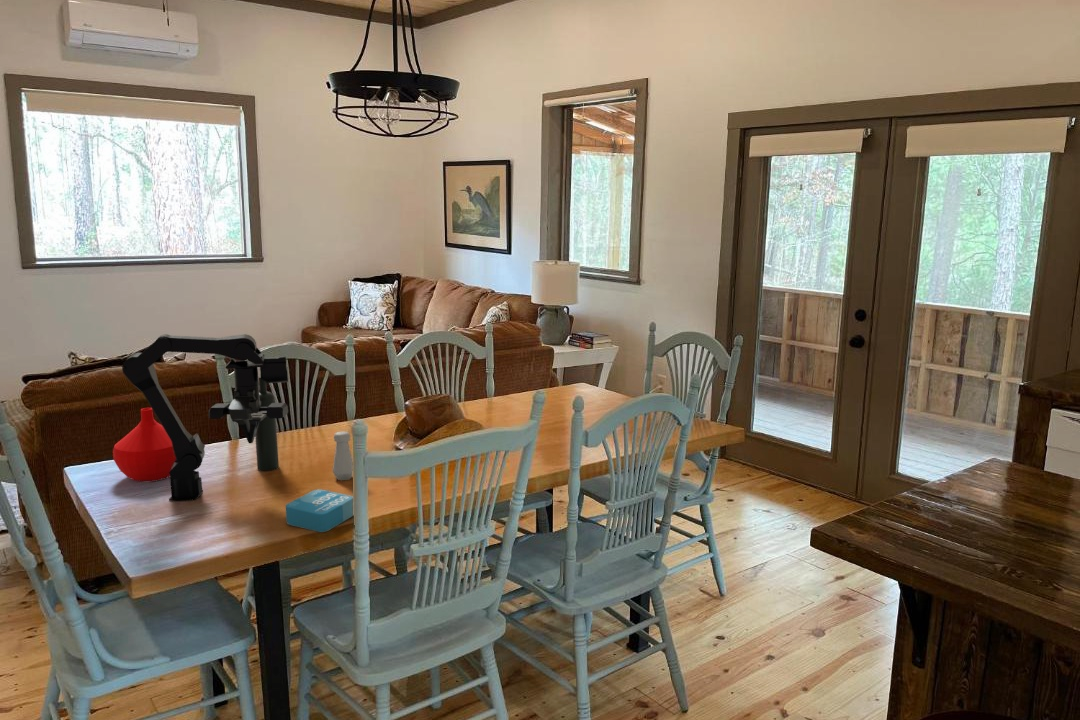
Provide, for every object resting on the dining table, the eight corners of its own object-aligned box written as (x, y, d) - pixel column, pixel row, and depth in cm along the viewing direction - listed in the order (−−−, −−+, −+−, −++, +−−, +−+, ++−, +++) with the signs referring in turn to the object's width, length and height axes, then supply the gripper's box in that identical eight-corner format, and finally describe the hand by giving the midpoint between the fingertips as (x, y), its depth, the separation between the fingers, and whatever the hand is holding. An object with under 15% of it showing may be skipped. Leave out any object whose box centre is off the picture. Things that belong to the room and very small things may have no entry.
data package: (316, 488, 200) (356, 496, 195) (317, 505, 201) (357, 513, 196) (282, 505, 189) (323, 515, 184) (283, 523, 190) (324, 533, 185)
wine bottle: (254, 467, 231) (247, 364, 225) (274, 463, 235) (268, 362, 229) (261, 472, 227) (254, 367, 221) (281, 468, 230) (275, 365, 224)
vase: (119, 492, 211) (112, 421, 208) (112, 472, 226) (105, 406, 223) (194, 479, 221) (188, 411, 217) (182, 461, 236) (177, 398, 233)
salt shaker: (349, 482, 219) (347, 436, 216) (329, 480, 220) (327, 434, 218) (358, 475, 225) (356, 430, 222) (338, 474, 226) (336, 429, 223)
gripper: (198, 391, 199) (203, 452, 202) (275, 391, 200) (278, 451, 203) (214, 382, 210) (218, 439, 213) (286, 381, 211) (290, 439, 214)
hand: (250, 442), depth 210 cm, fingers closed
